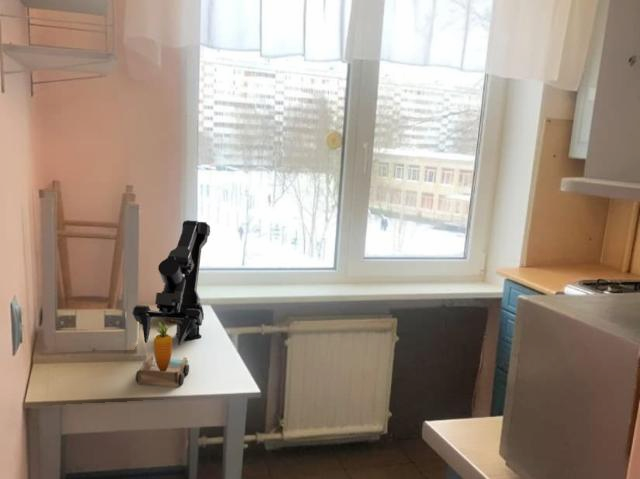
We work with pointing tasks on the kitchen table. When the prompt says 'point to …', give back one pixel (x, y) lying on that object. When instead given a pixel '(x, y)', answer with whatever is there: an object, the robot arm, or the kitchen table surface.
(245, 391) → the kitchen table surface
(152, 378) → the cart
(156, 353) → the carrot
